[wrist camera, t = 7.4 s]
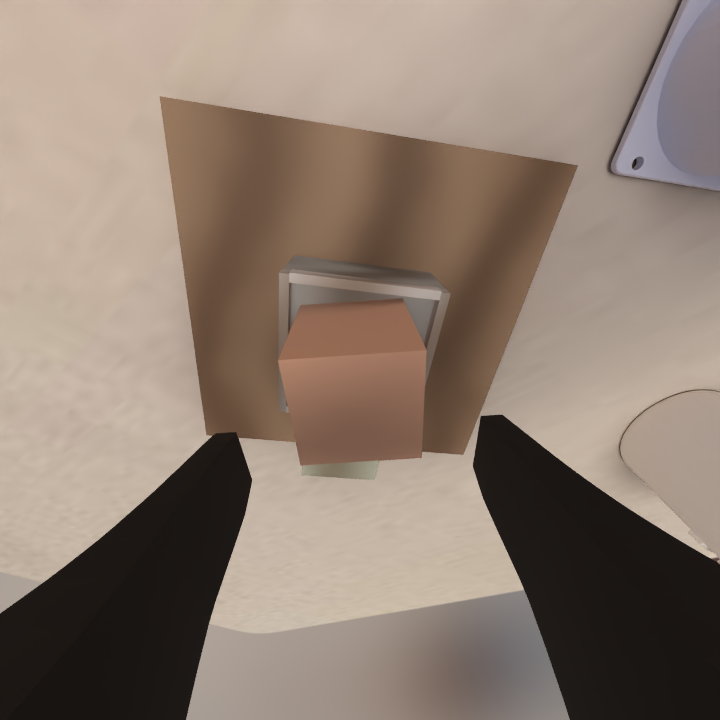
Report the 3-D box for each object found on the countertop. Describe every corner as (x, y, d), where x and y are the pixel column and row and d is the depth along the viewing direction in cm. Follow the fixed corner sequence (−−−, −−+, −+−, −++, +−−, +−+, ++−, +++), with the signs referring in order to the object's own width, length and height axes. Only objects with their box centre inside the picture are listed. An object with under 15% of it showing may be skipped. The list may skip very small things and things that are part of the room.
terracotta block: (402, 298, 14) (426, 350, 9) (402, 383, 16) (421, 457, 12) (300, 304, 14) (278, 360, 10) (314, 389, 16) (300, 465, 12)
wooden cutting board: (564, 166, 15) (642, 160, 11) (459, 444, 24) (481, 497, 20) (172, 102, 13) (96, 67, 9) (212, 425, 22) (181, 478, 18)
